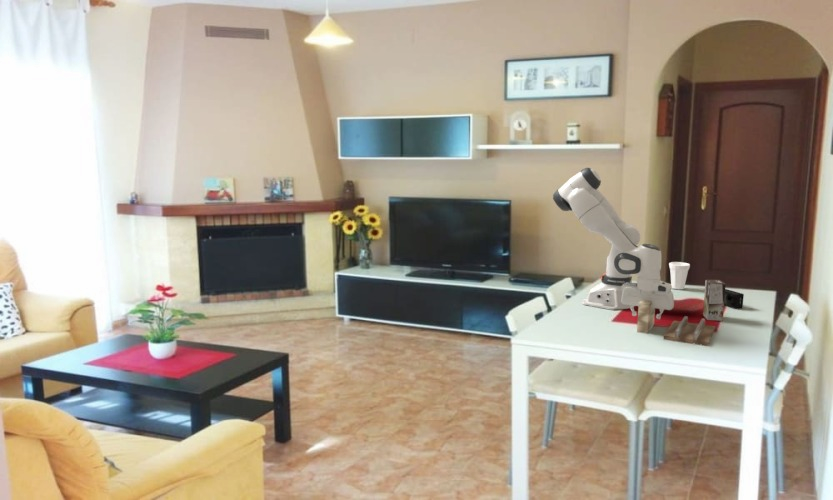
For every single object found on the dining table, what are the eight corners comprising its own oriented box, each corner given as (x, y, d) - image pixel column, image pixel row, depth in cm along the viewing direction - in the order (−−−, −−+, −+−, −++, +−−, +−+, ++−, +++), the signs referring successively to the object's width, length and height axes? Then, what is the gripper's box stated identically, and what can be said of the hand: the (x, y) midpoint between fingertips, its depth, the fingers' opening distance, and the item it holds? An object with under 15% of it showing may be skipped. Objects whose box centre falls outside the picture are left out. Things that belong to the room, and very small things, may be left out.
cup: (691, 291, 337) (693, 265, 335) (671, 290, 337) (673, 265, 335) (683, 286, 347) (685, 262, 345) (664, 286, 347) (666, 261, 345)
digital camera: (715, 304, 311) (716, 289, 310) (724, 303, 313) (725, 288, 312) (733, 309, 302) (734, 294, 301) (742, 308, 304) (743, 293, 303)
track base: (663, 339, 257) (664, 329, 257) (673, 324, 278) (674, 314, 277) (708, 345, 250) (708, 335, 249) (715, 329, 270) (716, 320, 269)
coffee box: (723, 321, 283) (726, 284, 280) (707, 320, 284) (710, 283, 281) (718, 315, 292) (721, 279, 289) (702, 314, 293) (705, 278, 290)
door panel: (636, 331, 267) (638, 302, 265) (643, 323, 279) (645, 295, 277) (647, 333, 265) (649, 304, 263) (653, 324, 277) (655, 296, 275)
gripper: (620, 282, 271) (618, 315, 274) (673, 288, 261) (670, 322, 264) (623, 280, 277) (622, 312, 279) (675, 285, 267) (673, 319, 269)
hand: (646, 317), depth 271 cm, fingers open, 8 cm apart
